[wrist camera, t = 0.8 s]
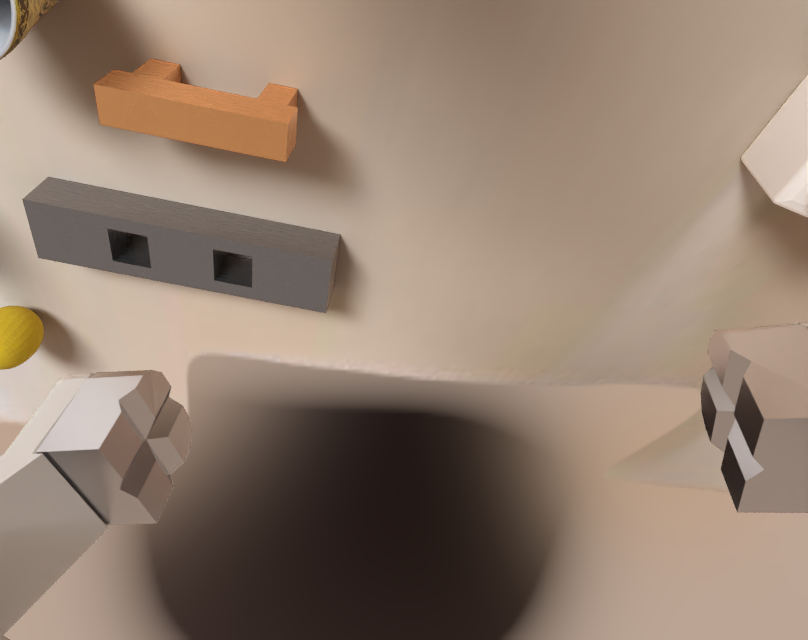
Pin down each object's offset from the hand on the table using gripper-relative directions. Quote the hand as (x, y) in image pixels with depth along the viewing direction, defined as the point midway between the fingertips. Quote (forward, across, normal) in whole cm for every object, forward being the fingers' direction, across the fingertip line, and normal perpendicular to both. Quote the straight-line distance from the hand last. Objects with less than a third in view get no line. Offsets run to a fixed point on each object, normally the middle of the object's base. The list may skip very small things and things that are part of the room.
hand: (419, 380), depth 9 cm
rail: (+39, +27, +19) cm, 51 cm away
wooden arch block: (+39, +19, +6) cm, 44 cm away
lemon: (+39, +49, +26) cm, 68 cm away
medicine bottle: (+39, -24, +16) cm, 49 cm away
